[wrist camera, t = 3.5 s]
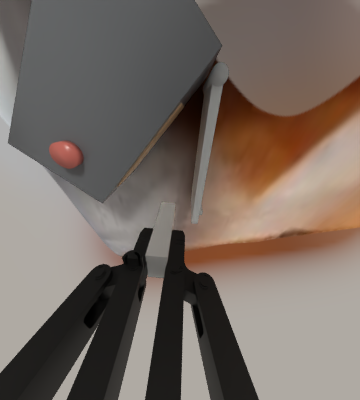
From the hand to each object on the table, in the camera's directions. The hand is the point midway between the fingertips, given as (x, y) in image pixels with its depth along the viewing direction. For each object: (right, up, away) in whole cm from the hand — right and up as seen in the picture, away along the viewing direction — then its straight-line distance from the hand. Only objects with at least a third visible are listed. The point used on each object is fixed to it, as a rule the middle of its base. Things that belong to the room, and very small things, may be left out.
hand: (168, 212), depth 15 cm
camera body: (-5, +14, +3) cm, 15 cm away
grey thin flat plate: (+5, +9, +6) cm, 12 cm away
